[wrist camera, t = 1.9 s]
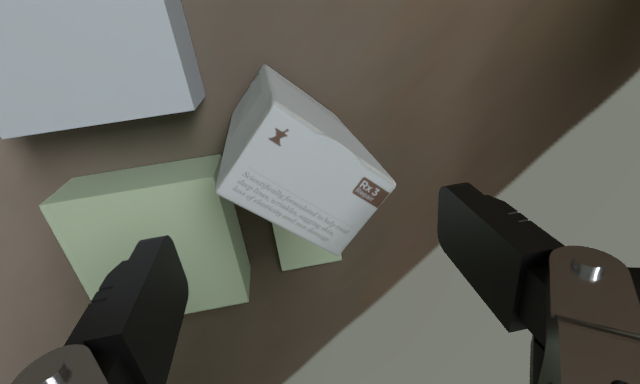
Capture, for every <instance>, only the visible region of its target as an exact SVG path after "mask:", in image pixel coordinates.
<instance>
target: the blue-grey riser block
mask: <svg viewBox="0 0 640 384" xmlns="http://www.w3.org/2000/svg"><path fill="white" fill-rule="evenodd" d="M205 96H206V95H205V91H204V88H203V84H202V80H201V76H200V72H199V69H198V65H197V61H196V57H195V53H194V50H193V46H192V42H191V38H190V34H189V31H188V27H187V23H186V19H185V15H184V11H183V8H182V4H181V0H0V137H1V138H2V139H7V138H13V137H20V136H27V135H33V134H40V133H47V132H53V131H60V130H67V129H73V128H80V127H87V126H93V125H100V124H107V123H113V122H120V121H126V120H133V119H140V118H146V117H153V116H160V115H166V114H173V113H180V112H186V111H193V110H195V109H196V108H197V107H198V105H199V104H200V103H201V101H202V100H203V99H204V98H205Z"/></svg>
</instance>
